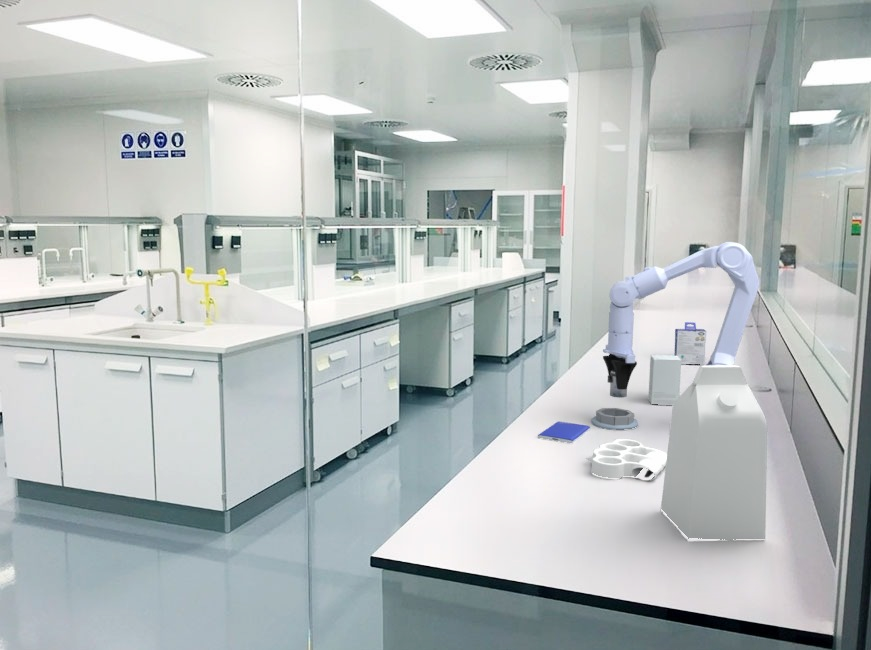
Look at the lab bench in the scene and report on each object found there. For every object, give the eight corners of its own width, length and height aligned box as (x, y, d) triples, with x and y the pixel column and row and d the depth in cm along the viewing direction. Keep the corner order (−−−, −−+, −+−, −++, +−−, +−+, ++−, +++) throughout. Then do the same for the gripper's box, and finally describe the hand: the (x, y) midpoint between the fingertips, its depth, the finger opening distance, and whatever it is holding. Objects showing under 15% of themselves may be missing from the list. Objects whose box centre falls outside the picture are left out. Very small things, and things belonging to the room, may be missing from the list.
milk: (730, 510, 118) (740, 359, 114) (765, 540, 107) (777, 373, 103) (660, 511, 117) (668, 359, 114) (688, 541, 106) (697, 374, 103)
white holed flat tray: (650, 490, 128) (574, 475, 136) (673, 462, 143) (603, 450, 151) (651, 472, 128) (574, 458, 135) (674, 446, 143) (604, 435, 150)
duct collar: (645, 429, 165) (646, 418, 165) (600, 430, 164) (601, 419, 163) (627, 417, 176) (628, 406, 175) (585, 418, 175) (585, 407, 174)
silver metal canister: (630, 397, 168) (631, 372, 167) (611, 398, 167) (612, 373, 166) (622, 393, 172) (623, 369, 171) (604, 394, 171) (605, 370, 170)
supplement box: (679, 406, 187) (681, 360, 185) (650, 405, 188) (652, 358, 186) (675, 400, 194) (678, 355, 192) (647, 398, 195) (650, 354, 193)
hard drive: (557, 420, 168) (537, 433, 158) (590, 425, 164) (572, 439, 154) (556, 427, 169) (537, 440, 158) (589, 432, 165) (572, 446, 154)
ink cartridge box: (701, 362, 248) (704, 322, 246) (705, 365, 242) (707, 324, 240) (672, 361, 249) (675, 321, 247) (675, 364, 244) (677, 323, 242)
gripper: (594, 327, 174) (592, 380, 176) (615, 336, 160) (612, 394, 162) (622, 327, 175) (619, 380, 177) (645, 336, 161) (642, 393, 163)
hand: (618, 386), depth 169 cm, fingers closed on silver metal canister, 4 cm apart
